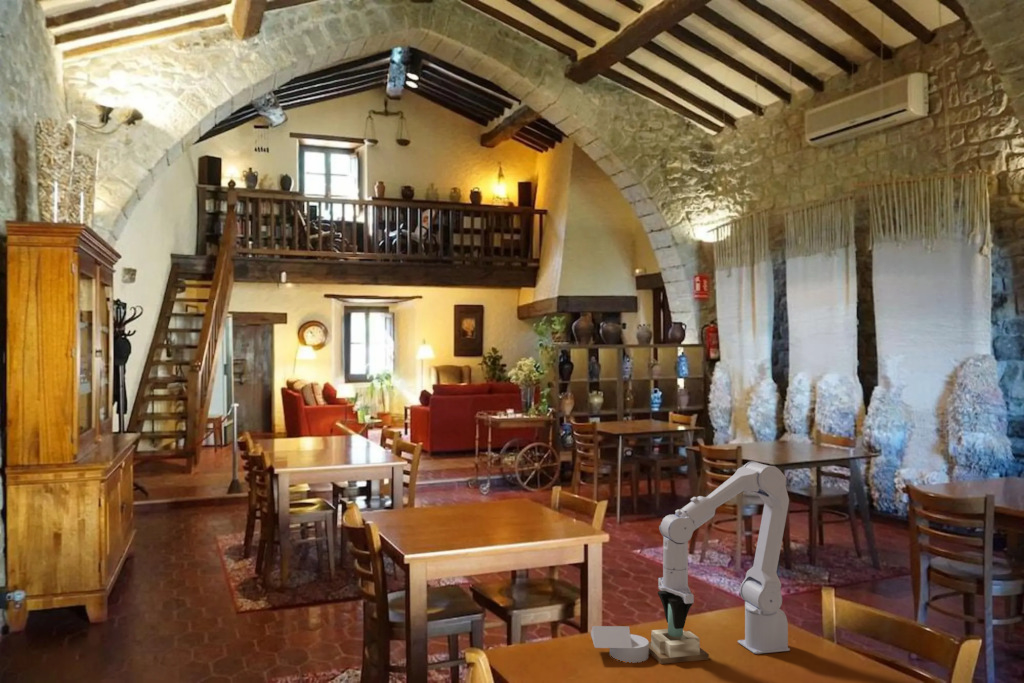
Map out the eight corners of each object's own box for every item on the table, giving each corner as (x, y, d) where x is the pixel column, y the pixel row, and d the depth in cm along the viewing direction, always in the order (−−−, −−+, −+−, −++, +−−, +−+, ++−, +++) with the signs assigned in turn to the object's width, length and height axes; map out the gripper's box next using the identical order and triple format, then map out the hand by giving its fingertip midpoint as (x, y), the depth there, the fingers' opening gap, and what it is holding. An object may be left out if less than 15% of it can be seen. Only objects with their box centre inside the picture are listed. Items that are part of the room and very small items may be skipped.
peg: (677, 630, 182) (677, 601, 182) (685, 635, 179) (686, 605, 179) (665, 632, 181) (665, 602, 181) (672, 637, 178) (673, 607, 178)
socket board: (688, 643, 186) (688, 627, 186) (708, 659, 176) (708, 641, 176) (642, 647, 183) (642, 630, 183) (660, 663, 173) (660, 646, 174)
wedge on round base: (594, 662, 174) (651, 663, 174) (594, 632, 174) (651, 633, 174) (590, 647, 183) (644, 648, 183) (590, 619, 183) (644, 619, 183)
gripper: (646, 560, 186) (646, 616, 186) (673, 576, 172) (673, 637, 172) (673, 558, 188) (673, 614, 188) (702, 574, 174) (701, 634, 174)
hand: (675, 625), depth 180 cm, fingers closed on peg, 3 cm apart
